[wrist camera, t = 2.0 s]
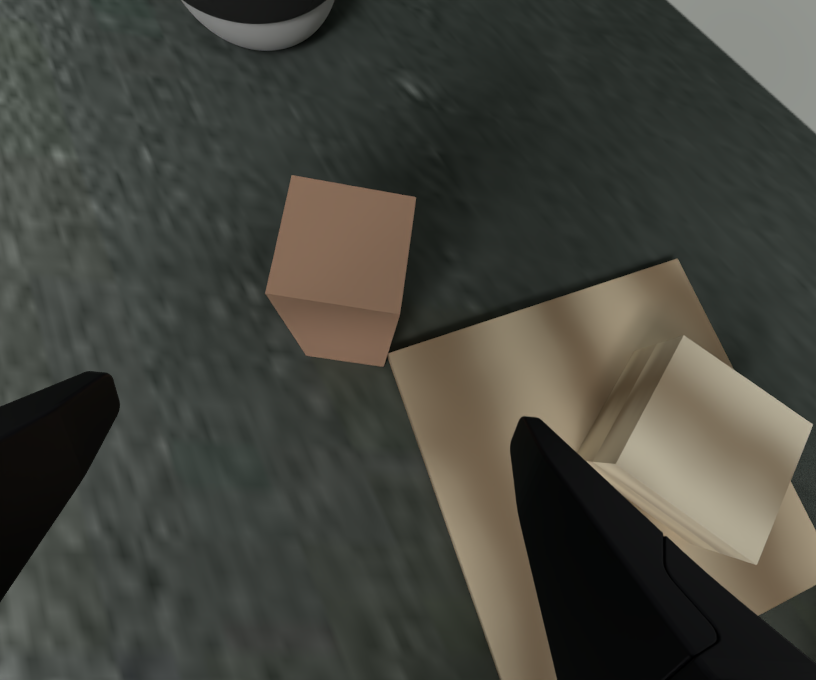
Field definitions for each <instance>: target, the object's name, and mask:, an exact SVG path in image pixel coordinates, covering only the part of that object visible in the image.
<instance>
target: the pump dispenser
mask: <svg viewBox="0 0 816 680" xmlns="http://www.w3.org/2000/svg"><path fill="white" fill-rule="evenodd" d="M181 1H182V2H183V3H184V5H185V6H186V7H187V8H188V10H189V11H190V12H191V13H192V14H193V15H194V16H195V17H196V18H197V19H198V20H199V21H200V22H201V23H202V24H203V25H204V26H205V27H207V28H208V29H209V30H210V31H212V32H213V33H215V34H216V35H218V36H219V37H221V38H223V39H224V40H226V41H228V42H230V43H233V44H235V45H238V46H241V47H244V48H247V49H252V50H260V51H274V50H281V49H285V48H289V47H292V46H294V45H297V44H299V43H301V42H303V41H304V40H306V39H307V38H308V37H310V36H311V35H312V34H313V33H314V32H316V31H317V30H318V28H319V27H320V26H321V25H322V24H323V22H324V21H325V19H326V18H327V16H328V14H329V12H330V10H331V8H332V6H333V3H334V0H181Z"/></svg>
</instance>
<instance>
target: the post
mask: <svg viewBox="0 0 816 680" xmlns="http://www.w3.org/2000/svg"><path fill="white" fill-rule="evenodd" d="M415 203H416V197H412V196H406V195H401V194H395V193H389V192H384V191H378V190H372V189H367V188H361V187H356V186H350V185H344V184H339V183H333V182H327V181H322V180H316V179H310V178H305V177H299V176H294V175H292V176H291V181H290V185H289V190H288V194H287V199H286V203H285V208H284V212H283V217H282V221H281V225H280V230H279V234H278V239H277V243H276V248H275V252H274V257H273V261H272V266H271V270H270V275H269V279H268V283H267V288H266V292H265V294H266V295H267V297H268V298H269V300H270V301H271V303H272V304H273V306H274V307H275V309H276V310H277V312H278V313H279V315H280V316H281V318H282V319H283V321H284V322H285V324H286V325H287V327H288V328H289V330H290V331H291V333H292V334H293V336H294V338H295V339H296V341H297V342H298V344H299V345H300V347H301V348H302V350H303V351H304V353H305V354H306V356H312V357H319V358H326V359H332V360H339V361H346V362H353V363H360V364H367V365H374V366H381V367H384V364H385V361H386V358H387V355H388V351H389V348H390V345H391V342H392V339H393V335H394V332H395V329H396V326H397V323H398V319H399V316H400V311H401V304H402V297H403V290H404V282H405V275H406V268H407V261H408V254H409V246H410V239H411V232H412V225H413V217H414V210H415Z"/></svg>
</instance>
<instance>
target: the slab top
mask: <svg viewBox="0 0 816 680" xmlns="http://www.w3.org/2000/svg"><path fill="white" fill-rule="evenodd" d="M812 426H813V424H811V423H810V422H808V421H807V420H806V419H804V418H803V417H801V416H800V415H798V414H797V413H795V412H794V411H793V410H791V409H790V408H788V407H787V406H785V405H784V404H782V403H781V402H780V401H778V400H777V399H775V398H774V397H772V396H771V395H769V394H768V393H767V392H765V391H764V390H762V389H761V388H759V387H758V386H756V385H755V384H754V383H752V382H751V381H749V380H748V379H746V378H745V377H744V376H742V375H741V374H739V373H738V372H736V371H735V370H733V369H732V368H731V367H729V366H728V365H726V364H725V363H723V362H722V361H720V360H719V359H718V358H716V357H715V356H713V355H712V354H710V353H709V352H707V351H706V350H705V349H703V348H702V347H700V346H699V345H697V344H696V343H694V342H693V341H692V340H690V339H689V338H687V337H686V336H684V335H683V336H679V337H676V338H673V339H670V340H667V341H664V342H661V343H658V344H657V345H656V346H655V348H654V350H653V352H652V354H651V356H650V357H649V359H648V361H647V363H646V365H645V367H644V368H643V370H642V372H641V374H640V376H639V378H638V379H637V381H636V383H635V385H634V387H633V389H632V390H631V392H630V394H629V396H628V398H627V400H626V401H625V403H624V405H623V407H622V409H621V411H620V412H619V414H618V416H617V418H616V420H615V422H614V423H613V425H612V427H611V429H610V431H609V433H608V434H607V436H606V438H605V440H604V442H603V444H602V445H601V447H600V449H599V451H598V453H597V455H596V456H595V458H594V460H593V462H594V463H595V464H596V465H598V466H599V467H601V468H602V469H603V470H605V471H606V472H608V473H609V474H610V475H612V476H613V477H615V478H616V479H617V480H619V481H620V482H622V483H623V484H624V485H626V486H627V487H629V488H630V489H631V490H633V491H634V492H635V493H637V494H638V495H640V496H641V497H642V498H644V499H645V500H647V501H648V502H649V503H651V504H652V505H654V506H655V507H656V508H658V509H659V510H661V511H662V512H663V513H665V514H666V515H668V516H669V517H670V518H672V519H673V520H674V521H676V522H677V523H679V524H680V525H681V526H683V527H684V528H686V529H687V530H688V531H690V532H691V533H693V534H694V535H695V536H697V537H698V538H700V539H701V540H702V541H704V542H705V543H707V544H708V545H709V546H711V547H712V548H713V549H715V550H716V551H718V552H719V553H721V554H724V555H727V556H730V557H733V558H736V559H739V560H742V561H745V562H748V563H752V564H755V565H757V563H758V561H759V558H760V556H761V553H762V551H763V548H764V546H765V543H766V541H767V538H768V536H769V534H770V531H771V529H772V526H773V524H774V521H775V519H776V516H777V514H778V511H779V509H780V506H781V504H782V501H783V499H784V496H785V494H786V491H787V489H788V486H789V484H790V481H791V479H792V476H793V474H794V471H795V469H796V466H797V464H798V461H799V459H800V456H801V454H802V451H803V449H804V446H805V444H806V441H807V439H808V436H809V434H810V431H811V429H812Z"/></svg>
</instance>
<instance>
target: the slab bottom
mask: <svg viewBox="0 0 816 680" xmlns="http://www.w3.org/2000/svg"><path fill="white" fill-rule="evenodd" d="M656 345H657V344H654V345H651V346H648V347H645V348H642V349H639V350H636V351H634V352H633V354H632V356H631V358H630V360H629V361H628V363H627V365H626V367H625V369H624V370H623V372H622V374H621V376H620V377H619V379H618V381H617V383H616V385H615V386H614V388H613V390H612V392H611V394H610V395H609V397H608V399H607V401H606V402H605V404H604V406H603V408H602V410H601V411H600V413H599V415H598V417H597V419H596V420H595V422H594V424H593V426H592V428H591V429H590V431H589V433H588V435H587V436H586V438H585V440H584V442H583V444H582V445H581V447H580V449H579V451H578V454H579V455H580V456H581V457H582V458H583V459H584V460H585V461H586V462H587V463H589V464H590V465H591V466H592V467H593V468H594V469H595V470H596V471H597V472H598V473H599V474H600V475H601V476H603V477H604V478H605V479H606V480H607V481H608V482H609V483H610V484H611V485H612V486H613V487H614V488H615V489H616V490H618V491H619V492H620V493H621V494H622V495H623V496H625V497H626V498H627V499H629V500H630V501H631V502H633V503H634V504H636V505H637V506H638V507H640V508H641V509H643V510H644V511H645V512H647V513H648V514H650V515H651V516H652V517H654V518H655V519H656V520H658V521H659V522H661V523H662V524H663V525H665V526H666V527H668V528H669V529H670V530H672V531H673V532H675V533H676V534H677V535H679V536H680V537H681V538H683V539H684V540H686V541H687V542H688V543H690V544H693V545H696V546H699V547H702V548H705V549H708V550H711V551H714V552H717V553H719V552H718V551H716V550H715V549H713V548H712V547H711V546H709V545H708V544H707V543H705V542H704V541H702V540H701V539H700V538H698V537H697V536H695V535H694V534H693V533H691V532H690V531H688V530H687V529H686V528H684V527H683V526H681V525H680V524H679V523H677V522H676V521H674V520H673V519H672V518H670V517H669V516H668V515H666V514H665V513H663V512H662V511H661V510H659V509H658V508H656V507H655V506H654V505H652V504H651V503H649V502H648V501H647V500H645V499H644V498H642V497H641V496H640V495H638V494H637V493H635V492H634V491H633V490H631V489H630V488H629V487H627V486H626V485H624V484H623V483H622V482H620V481H619V480H617V479H616V478H615V477H613V476H612V475H610V474H609V473H608V472H606V471H605V470H603V469H602V468H601V467H599V466H598V465H596V464H595V463H594V462H593V460H594V458H595V456H596V455H597V453H598V451H599V449H600V447H601V445H602V444H603V442H604V440H605V438H606V436H607V434H608V433H609V431H610V429H611V427H612V425H613V423H614V422H615V420H616V418H617V416H618V414H619V412H620V411H621V409H622V407H623V405H624V403H625V401H626V400H627V398H628V396H629V394H630V392H631V390H632V389H633V387H634V385H635V383H636V381H637V379H638V378H639V376H640V374H641V372H642V370H643V368H644V367H645V365H646V363H647V361H648V359H649V357H650V356H651V354H652V352H653V350H654V348H655V346H656Z"/></svg>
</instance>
